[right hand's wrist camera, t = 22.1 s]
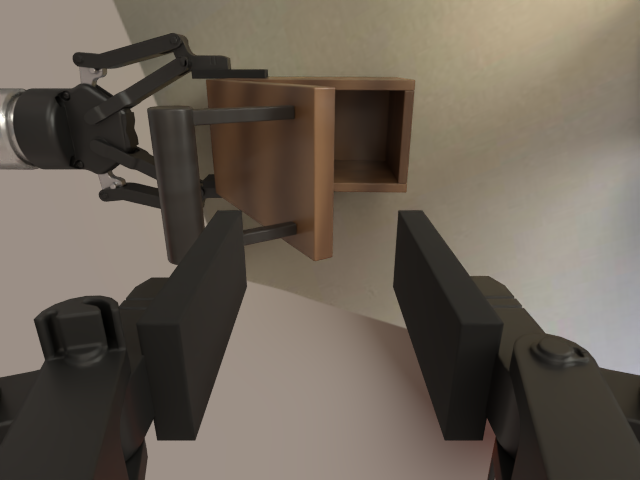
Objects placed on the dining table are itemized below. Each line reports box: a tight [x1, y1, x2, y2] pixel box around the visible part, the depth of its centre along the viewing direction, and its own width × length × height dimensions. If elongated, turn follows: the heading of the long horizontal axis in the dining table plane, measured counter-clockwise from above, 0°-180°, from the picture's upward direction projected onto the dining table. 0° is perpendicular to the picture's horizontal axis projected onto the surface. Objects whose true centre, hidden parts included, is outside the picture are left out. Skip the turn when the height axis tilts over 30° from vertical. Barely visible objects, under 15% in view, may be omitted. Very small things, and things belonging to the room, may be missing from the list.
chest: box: [223, 77, 415, 192], centre depth 42 cm, size 16×9×11 cm, turn 90°
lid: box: [147, 79, 335, 265], centre depth 28 cm, size 17×9×9 cm
